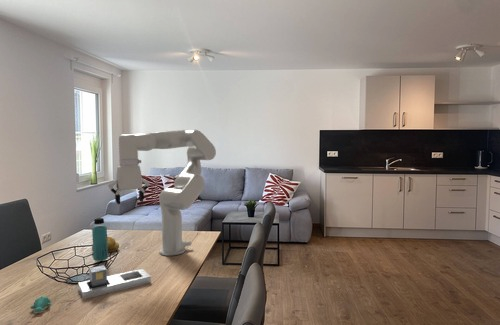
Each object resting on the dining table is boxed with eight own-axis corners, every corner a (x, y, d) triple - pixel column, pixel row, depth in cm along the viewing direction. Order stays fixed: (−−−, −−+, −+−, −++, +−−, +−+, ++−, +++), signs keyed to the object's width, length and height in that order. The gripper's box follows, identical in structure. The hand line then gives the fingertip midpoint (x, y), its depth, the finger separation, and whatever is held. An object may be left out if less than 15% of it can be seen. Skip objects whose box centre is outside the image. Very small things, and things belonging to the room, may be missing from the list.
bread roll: (121, 247, 177) (120, 232, 176) (116, 254, 167) (115, 238, 166) (95, 249, 175) (94, 233, 174) (88, 255, 165) (87, 239, 165)
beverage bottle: (102, 264, 152) (101, 220, 151) (89, 263, 154) (87, 219, 152) (111, 259, 159) (110, 217, 158) (98, 258, 160) (97, 216, 159)
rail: (142, 274, 141) (142, 268, 141) (150, 282, 133) (150, 276, 133) (78, 289, 128) (78, 282, 127) (83, 299, 119) (82, 292, 119)
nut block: (104, 285, 131) (103, 265, 130) (107, 290, 126) (106, 269, 126) (90, 289, 128) (89, 268, 127) (92, 294, 124) (91, 272, 123)
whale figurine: (53, 303, 117) (53, 293, 117) (47, 314, 110) (47, 302, 110) (34, 306, 115) (34, 295, 115) (27, 317, 108) (26, 305, 108)
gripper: (146, 161, 156) (147, 199, 157) (105, 163, 146) (106, 203, 147) (151, 162, 149) (152, 201, 151) (109, 164, 140) (111, 206, 141)
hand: (130, 202), depth 149 cm, fingers open, 9 cm apart
